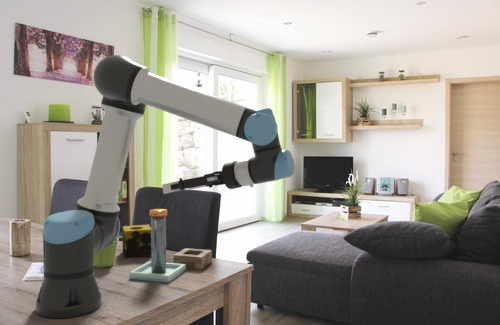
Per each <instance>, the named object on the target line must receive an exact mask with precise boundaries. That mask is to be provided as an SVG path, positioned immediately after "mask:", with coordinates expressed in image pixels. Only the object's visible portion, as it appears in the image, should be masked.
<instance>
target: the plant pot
mask: <svg viewBox="0 0 500 325" xmlns="http://www.w3.org/2000/svg"><path fill="white" fill-rule="evenodd" d="M119 240H120V239H119V237H117V238H116V239H115V240H114V241H113V243H112V244H111V245H109V246H108V247H106V248H105V249H103V250H101V251H99V252H97V253H95V254H94V267H95V268H105V267H112V266H114V264H115V258H116V257H115V256H116V250H117V245H118V241H119Z"/></svg>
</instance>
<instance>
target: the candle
mask: <svg viewBox="0 0 500 325" xmlns="http://www.w3.org/2000/svg"><path fill="white" fill-rule="evenodd" d="M122 253H123V256H124V258H125V259H129V257H131V258H140V256H143V257H151V225H150V224H135V225H124V226H122Z"/></svg>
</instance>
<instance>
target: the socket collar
mask: <svg viewBox="0 0 500 325" xmlns="http://www.w3.org/2000/svg"><path fill="white" fill-rule="evenodd" d="M212 261H213V250H212V249H199V248H189V247H188V248H186V247H185V248H183V249H182V250H180V251H178V252H176V253H175V254H173V263H177V264H186V269H192V270H203V269H204V268H206V267H207V266H208V265H210V264H211V263H212Z"/></svg>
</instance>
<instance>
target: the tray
mask: <svg viewBox="0 0 500 325" xmlns="http://www.w3.org/2000/svg"><path fill="white" fill-rule="evenodd" d="M186 271H187V268H186V264H177V263H174V262H166V272H165V273H163V274H154V273H152V271H151V260H149V261H147V262H145V263H144V264H142V265H140V266H138V267H136V268H135V269H132V270H131V271H129V273H128V274H129V275H128V276H129V279H130V280H131V279H132V280H138V281H140V280H141V281H147V282H148V281H150V282H156V283H157V282H158V283H160V282H161V283H170V282H172V281H174V280H175V279H177V277H179V276H180V275H182V274H183V273H185V272H186Z"/></svg>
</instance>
